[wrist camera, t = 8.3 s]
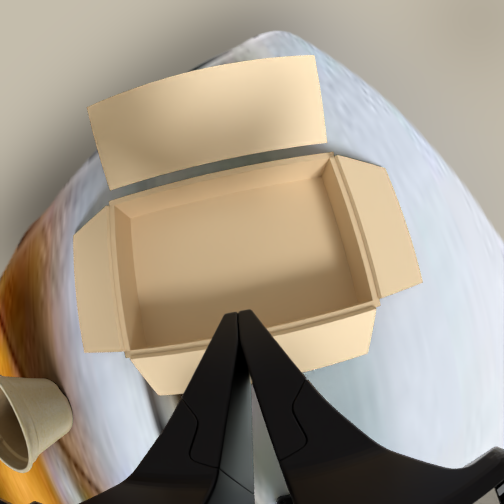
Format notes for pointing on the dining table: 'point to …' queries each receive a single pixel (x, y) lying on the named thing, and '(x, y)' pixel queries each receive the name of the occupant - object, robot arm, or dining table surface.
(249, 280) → the carton
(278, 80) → the flap
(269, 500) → the dining table surface
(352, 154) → the dining table surface
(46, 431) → the flower pot
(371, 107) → the dining table surface
